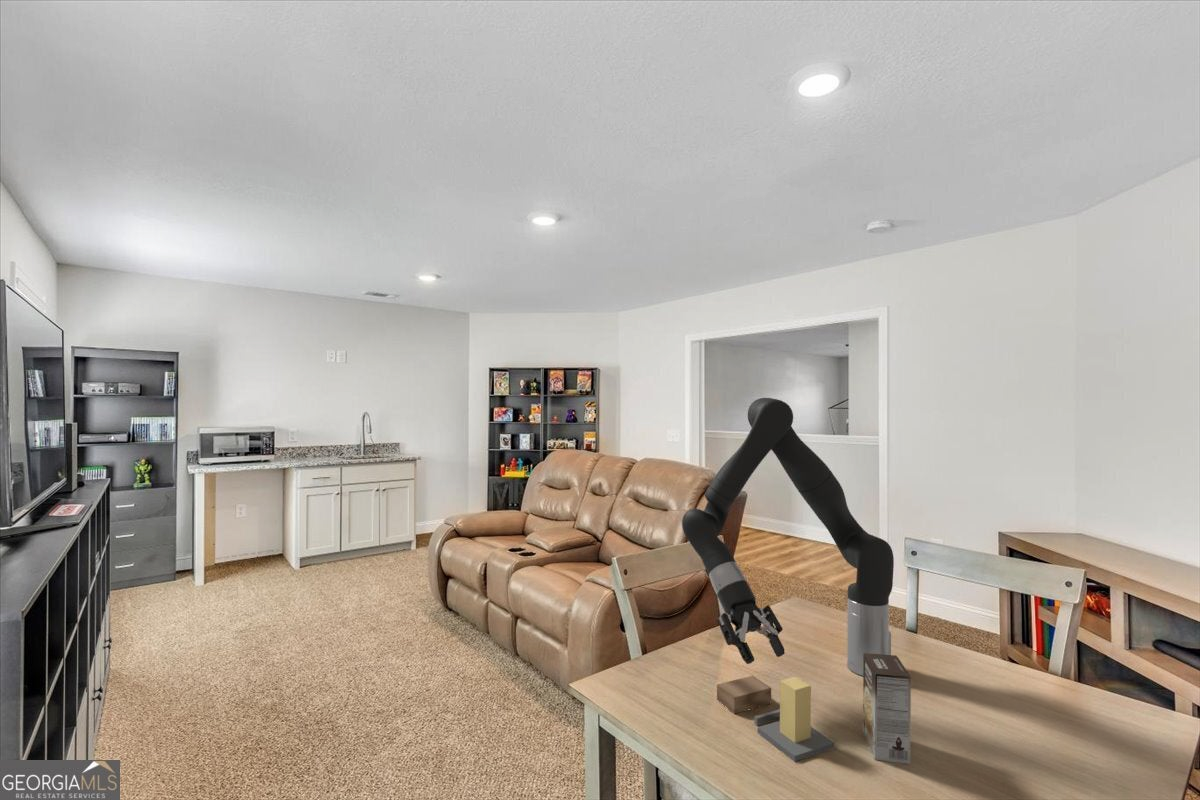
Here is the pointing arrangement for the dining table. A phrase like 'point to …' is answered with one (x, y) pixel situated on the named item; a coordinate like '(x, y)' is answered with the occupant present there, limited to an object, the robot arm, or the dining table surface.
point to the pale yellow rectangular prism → (795, 709)
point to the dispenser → (747, 697)
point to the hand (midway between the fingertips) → (766, 658)
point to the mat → (797, 749)
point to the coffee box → (886, 707)
